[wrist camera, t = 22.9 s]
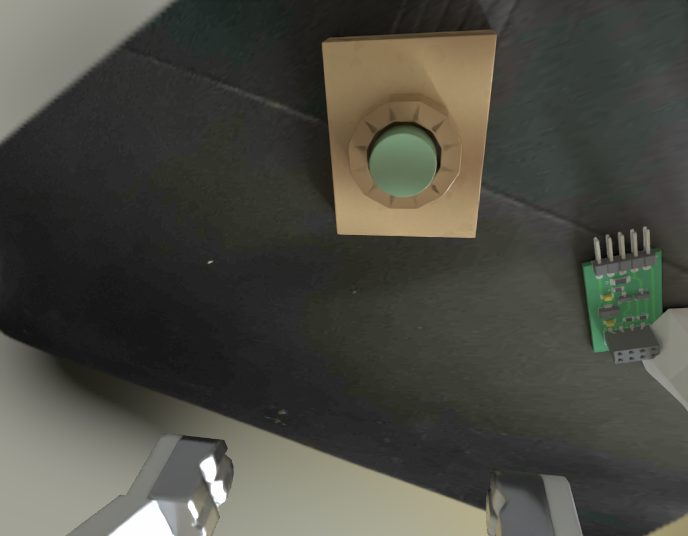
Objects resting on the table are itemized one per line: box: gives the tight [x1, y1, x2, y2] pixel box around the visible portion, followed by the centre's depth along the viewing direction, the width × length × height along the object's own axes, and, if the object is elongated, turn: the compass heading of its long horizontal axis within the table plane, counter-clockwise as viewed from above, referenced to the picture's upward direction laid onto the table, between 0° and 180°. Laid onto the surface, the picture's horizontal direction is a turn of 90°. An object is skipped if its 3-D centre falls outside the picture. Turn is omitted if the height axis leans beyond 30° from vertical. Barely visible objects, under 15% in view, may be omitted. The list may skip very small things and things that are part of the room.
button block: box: [322, 29, 497, 238], centre depth 30 cm, size 13×10×4 cm
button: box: [369, 125, 437, 197], centre depth 28 cm, size 4×4×2 cm
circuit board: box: [582, 226, 662, 364], centre depth 34 cm, size 12×3×5 cm
